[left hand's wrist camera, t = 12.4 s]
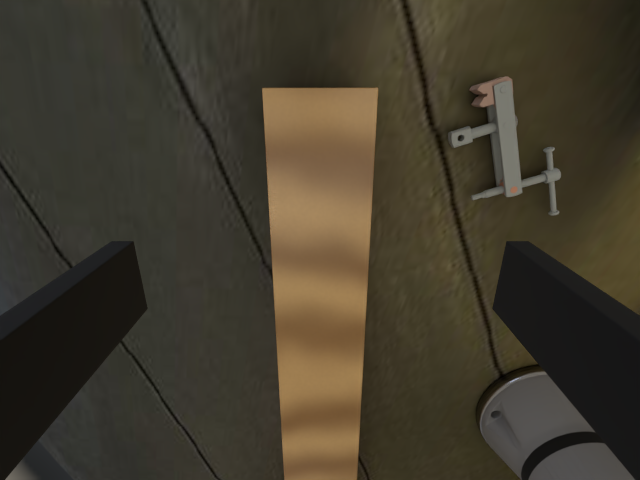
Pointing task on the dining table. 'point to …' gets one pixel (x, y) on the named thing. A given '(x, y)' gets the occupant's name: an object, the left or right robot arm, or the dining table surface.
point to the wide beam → (320, 268)
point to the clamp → (504, 142)
